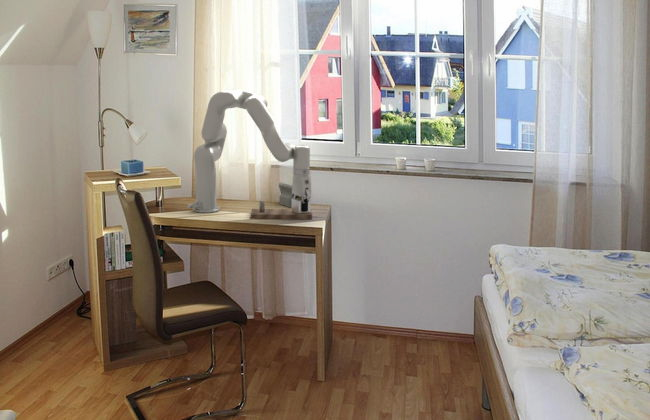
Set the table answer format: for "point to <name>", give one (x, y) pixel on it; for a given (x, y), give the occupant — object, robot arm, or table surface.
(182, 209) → the table surface
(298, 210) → the white cube
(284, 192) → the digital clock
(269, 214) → the board
